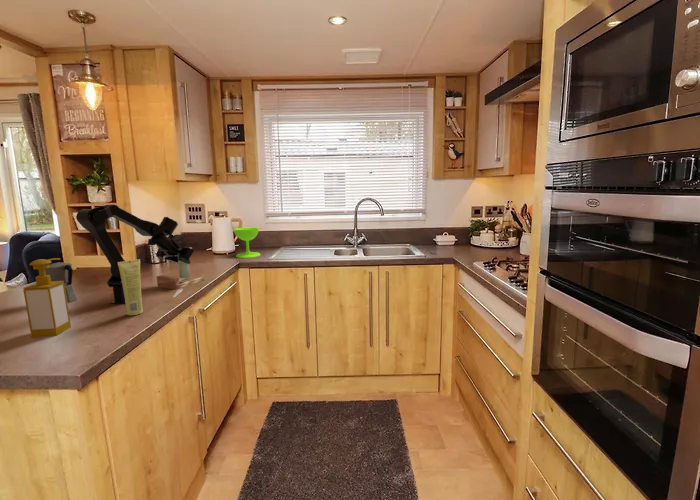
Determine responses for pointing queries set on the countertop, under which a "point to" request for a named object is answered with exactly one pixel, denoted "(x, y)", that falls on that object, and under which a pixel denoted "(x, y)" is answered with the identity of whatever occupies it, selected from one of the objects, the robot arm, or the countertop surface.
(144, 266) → the countertop surface
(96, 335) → the countertop surface
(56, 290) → the soap bottle
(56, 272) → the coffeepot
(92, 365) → the countertop surface
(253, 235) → the wineglass
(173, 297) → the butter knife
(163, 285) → the brown piece
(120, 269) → the tube
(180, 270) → the keeper post
